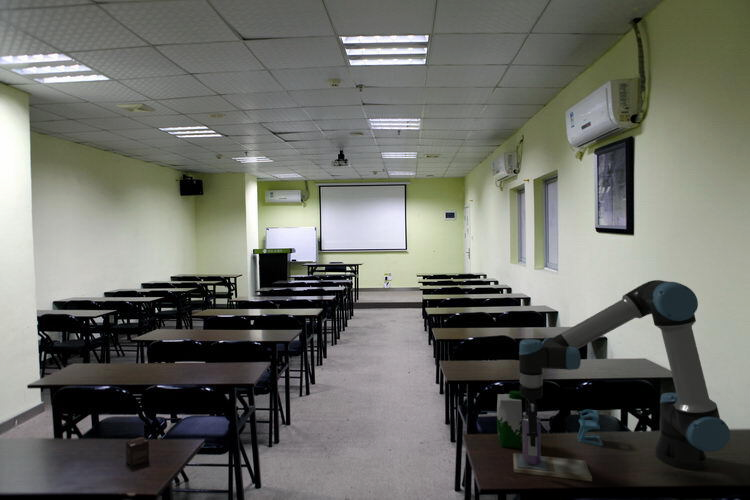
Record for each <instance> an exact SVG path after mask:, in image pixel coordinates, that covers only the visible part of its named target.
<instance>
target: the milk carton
mask: <svg viewBox="0 0 750 500" xmlns="http://www.w3.org/2000/svg"><path fill="white" fill-rule="evenodd" d="M522 405H523V403H522V397H521V396H520V390H510V391H509V392H508V393H504V394H501V393H500V394H499V393H498V394H497V404H496V426H497V428H496V429H497V436H498V440H499V442H500V443H499V444H500V446H501V448H515V449H521V448H522V440H523V434H522V420H523V412H522V411H523V407H522Z"/></svg>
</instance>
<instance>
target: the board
mask: <svg viewBox="0 0 750 500" xmlns="http://www.w3.org/2000/svg"><path fill="white" fill-rule="evenodd" d="M512 459H513V460H512V461H513V462H512V463H513V472H514V473H518V474H527V475H533V476H534V475H536V476H543V477H552V478H553V477H554V478H559V479H560V478H562V479H571V480H577V481H578V480H580V481H588V482H593V476H592V474H591V471H590V470H589V467H588V465H587V461H586V460H580V459H572V458H560V457H553V456H542V455H541V462H540V464H538V465H529V464H527V463H525V462H524V460H523V453H516V452H515V453H514V452H513V453H512Z"/></svg>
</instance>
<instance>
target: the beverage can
mask: <svg viewBox="0 0 750 500" xmlns="http://www.w3.org/2000/svg"><path fill="white" fill-rule="evenodd" d="M541 424H542V423H541V418H539V417H538V416H537V434H538V437H537V456H532V455H529V450H528V436H527V433H529V424H528V416H526V415H524V416H522V454H523V460H524V462H525V463H527V464H529V465H538V464H540V462H541V456H542V449H541V447H542V446H541V445H542V442H541V441H542V437H541V436H542V433H541V432H542V429H541V427H542V425H541ZM532 433H535V432H532Z"/></svg>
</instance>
